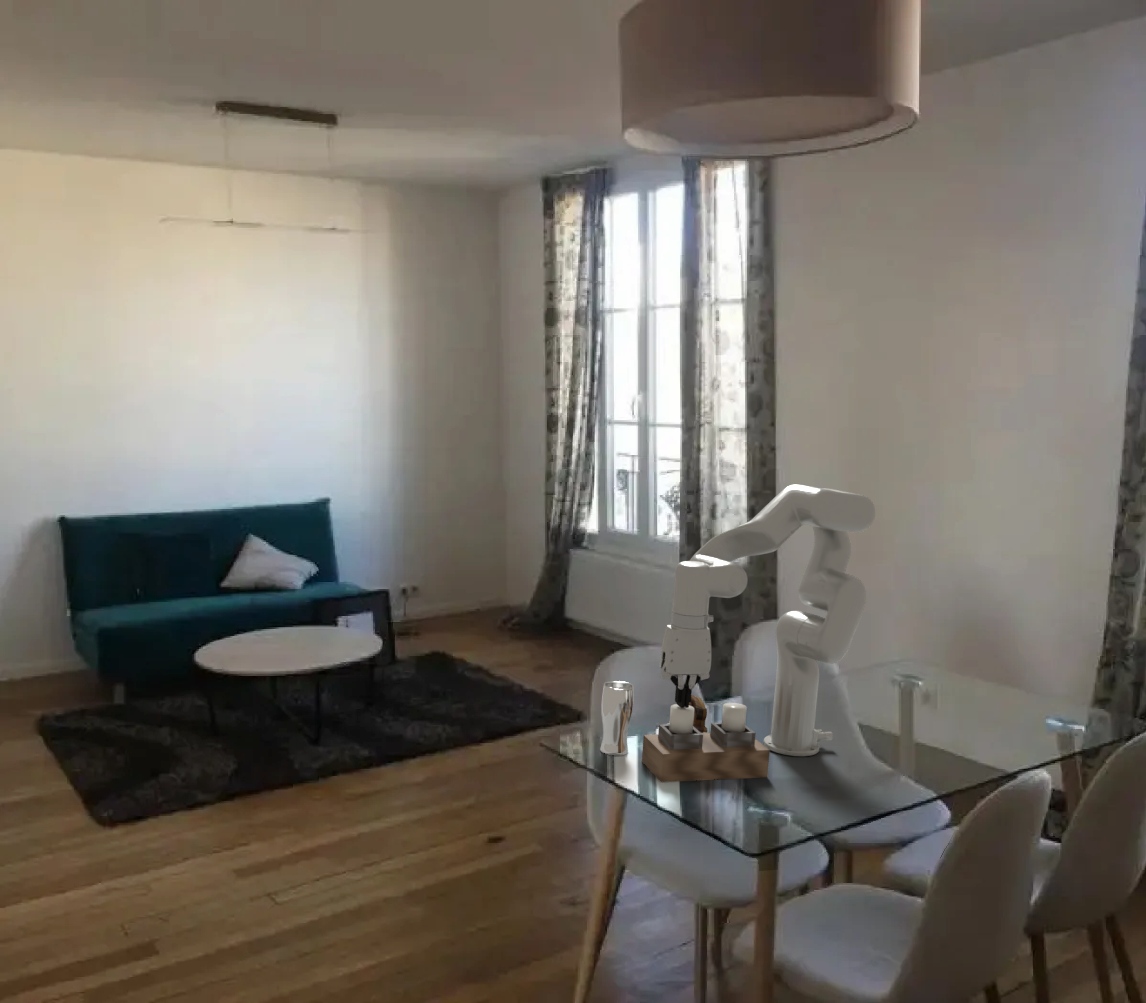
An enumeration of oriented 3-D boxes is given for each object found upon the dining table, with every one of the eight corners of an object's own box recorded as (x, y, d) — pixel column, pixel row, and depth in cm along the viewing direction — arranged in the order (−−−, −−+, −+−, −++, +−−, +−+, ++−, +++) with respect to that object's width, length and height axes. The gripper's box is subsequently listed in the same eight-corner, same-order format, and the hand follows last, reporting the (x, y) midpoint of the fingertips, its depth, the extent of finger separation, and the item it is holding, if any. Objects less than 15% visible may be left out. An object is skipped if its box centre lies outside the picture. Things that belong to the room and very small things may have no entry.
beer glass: (627, 758, 257) (631, 691, 255) (595, 754, 258) (600, 687, 256) (632, 748, 264) (636, 682, 262) (601, 744, 265) (605, 679, 263)
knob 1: (687, 726, 254) (689, 703, 253) (696, 734, 249) (698, 711, 248) (665, 727, 252) (667, 704, 251) (673, 734, 247) (675, 711, 247)
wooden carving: (665, 728, 280) (668, 687, 278) (683, 727, 281) (686, 686, 280) (693, 752, 264) (697, 708, 263) (712, 751, 265) (716, 708, 264)
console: (743, 757, 262) (747, 718, 261) (767, 777, 251) (770, 736, 250) (641, 761, 256) (644, 721, 254) (660, 782, 244) (664, 740, 243)
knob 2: (739, 724, 257) (740, 702, 256) (748, 732, 252) (750, 709, 252) (717, 725, 256) (719, 703, 255) (727, 733, 251) (728, 710, 250)
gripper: (715, 616, 253) (708, 699, 255) (649, 616, 249) (643, 701, 251) (729, 625, 246) (722, 710, 248) (661, 625, 242) (655, 712, 244)
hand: (682, 705), depth 250 cm, fingers closed
